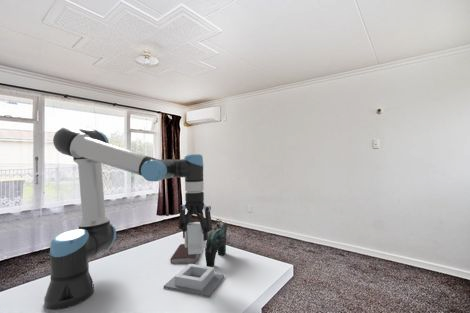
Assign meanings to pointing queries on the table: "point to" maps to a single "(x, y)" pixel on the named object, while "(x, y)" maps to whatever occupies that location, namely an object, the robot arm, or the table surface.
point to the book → (183, 255)
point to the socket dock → (197, 292)
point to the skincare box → (194, 238)
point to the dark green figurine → (216, 243)
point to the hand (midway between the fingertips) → (195, 247)
